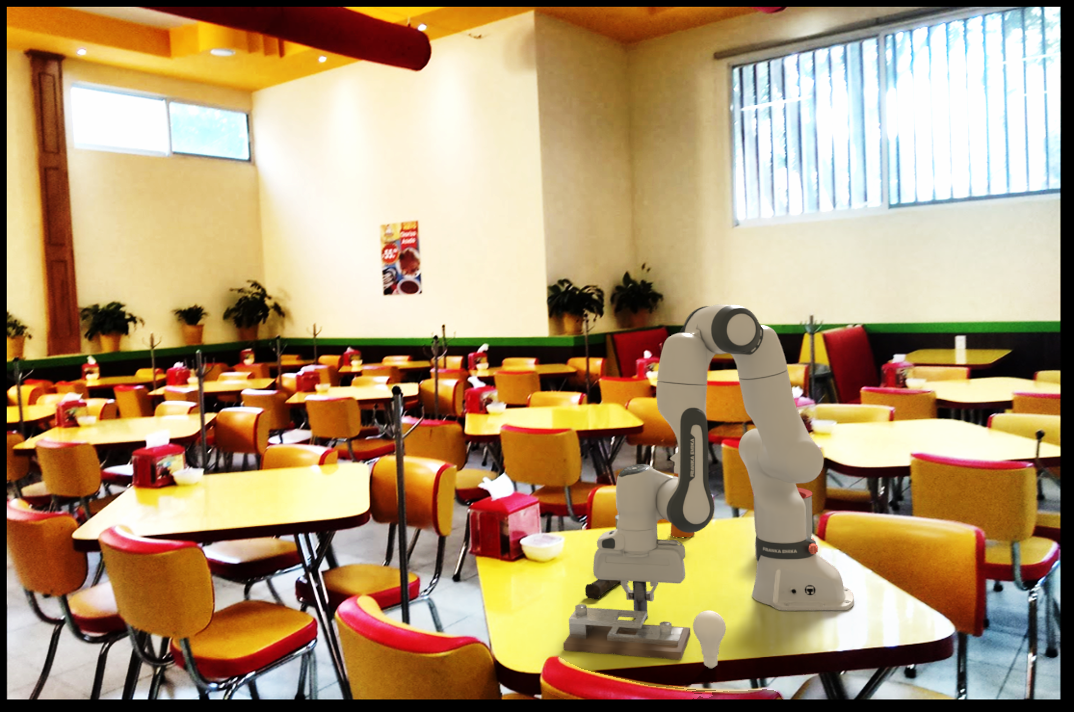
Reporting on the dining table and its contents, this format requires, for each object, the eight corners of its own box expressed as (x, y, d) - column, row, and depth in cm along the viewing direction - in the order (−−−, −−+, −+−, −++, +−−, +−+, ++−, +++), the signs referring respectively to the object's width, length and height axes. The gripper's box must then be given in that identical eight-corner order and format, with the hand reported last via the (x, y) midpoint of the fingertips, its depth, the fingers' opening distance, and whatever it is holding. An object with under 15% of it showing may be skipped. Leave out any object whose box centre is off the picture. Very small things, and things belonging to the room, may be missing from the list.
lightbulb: (722, 660, 168) (720, 604, 167) (730, 673, 162) (728, 616, 161) (691, 662, 168) (689, 606, 167) (698, 675, 161) (696, 618, 161)
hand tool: (599, 601, 204) (598, 582, 204) (584, 599, 206) (584, 580, 206) (636, 578, 220) (636, 560, 220) (623, 576, 222) (622, 558, 222)
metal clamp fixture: (683, 632, 178) (682, 606, 178) (678, 645, 172) (677, 618, 172) (578, 625, 185) (577, 600, 185) (569, 637, 179) (568, 611, 178)
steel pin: (648, 615, 193) (647, 578, 192) (646, 620, 190) (644, 583, 190) (635, 615, 194) (634, 577, 193) (632, 619, 191) (631, 582, 190)
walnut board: (690, 634, 181) (690, 627, 181) (681, 659, 169) (680, 652, 169) (580, 626, 189) (579, 619, 188) (563, 650, 176) (563, 643, 176)
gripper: (686, 536, 191) (689, 597, 191) (596, 533, 197) (599, 592, 198) (682, 544, 185) (685, 607, 185) (590, 540, 191) (592, 601, 192)
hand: (640, 599), depth 192 cm, fingers closed on steel pin, 3 cm apart
